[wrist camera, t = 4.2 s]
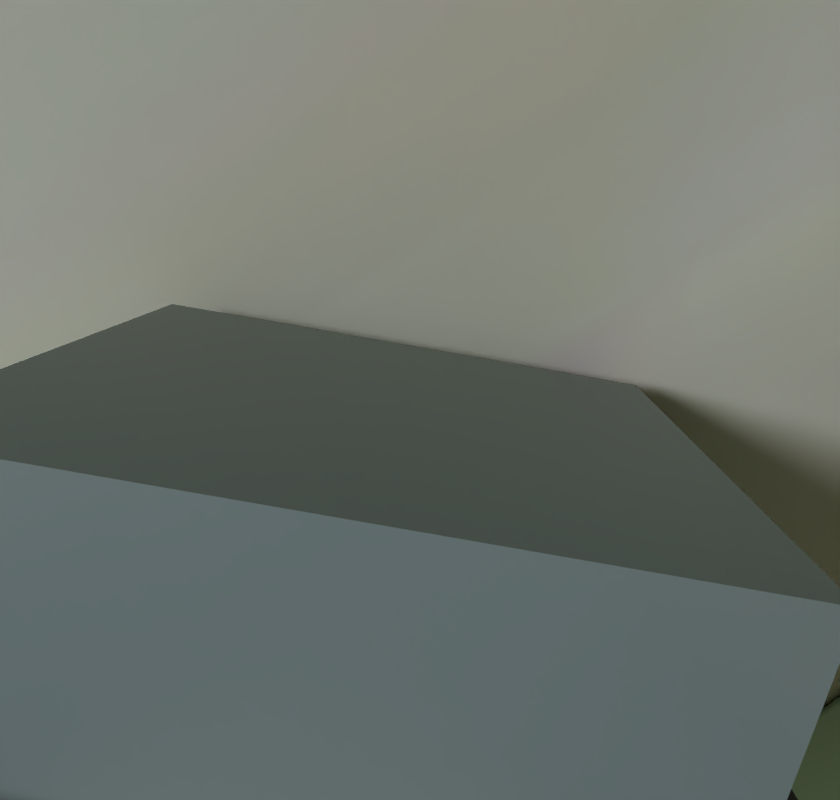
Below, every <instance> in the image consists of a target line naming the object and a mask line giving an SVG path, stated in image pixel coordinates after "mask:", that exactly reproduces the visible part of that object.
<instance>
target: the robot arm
mask: <svg viewBox="0 0 840 800" xmlns="http://www.w3.org/2000/svg"><path fill="white" fill-rule="evenodd" d="M787 800H798V799H797V797H796V796H795V794H794V792H793V790H792V789H791V791H790V793H789V796H788V799H787Z"/></svg>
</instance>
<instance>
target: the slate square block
mask: <svg viewBox="0 0 840 800" xmlns="http://www.w3.org/2000/svg"><path fill="white" fill-rule="evenodd" d="M839 664H840V587H839V586H838V585H837V584H836V583H835V582H834V581H833V580H832V579H831V578H830V577H829V576H828V575H827V574H826V573H825V572H824V571H823V570H822V569H821V568H820V567H819V566H818V565H817V564H816V563H815V562H814V561H813V560H812V559H811V558H810V557H809V556H808V555H807V554H806V553H805V552H804V551H803V550H802V549H801V548H800V547H799V546H798V545H797V544H796V543H795V542H794V541H793V540H792V539H791V538H790V537H789V536H788V535H787V534H786V533H785V532H784V531H783V530H782V529H781V528H779V527H778V526H777V525H776V524H775V523H774V522H773V521H772V520H771V519H770V518H769V517H768V516H767V515H766V514H765V513H764V512H763V511H762V510H761V509H760V508H759V507H758V506H757V505H756V504H755V503H754V502H753V501H752V500H751V499H750V498H749V497H748V496H747V495H746V494H745V493H744V492H743V491H742V490H741V489H740V488H739V487H738V486H737V485H736V484H735V483H734V482H733V481H732V480H731V479H730V478H729V477H728V476H727V475H726V474H725V473H724V472H723V471H722V470H721V469H720V468H719V467H718V466H717V465H716V464H715V463H714V462H713V461H712V460H711V459H710V458H709V457H708V456H707V455H706V454H705V453H704V452H703V451H702V450H701V449H700V448H699V447H698V446H697V445H696V444H695V443H694V442H693V441H692V440H691V439H690V438H689V437H688V436H687V435H686V434H684V433H683V432H682V431H681V430H680V429H679V428H678V427H677V426H676V425H675V424H674V423H673V422H672V421H671V420H670V419H669V418H668V417H667V416H666V415H665V414H664V413H663V412H662V411H661V410H660V409H659V408H658V407H657V406H656V405H655V404H654V403H653V402H652V401H651V400H650V399H649V398H648V397H647V396H646V395H645V394H644V393H643V392H642V391H641V390H640V389H639V388H638V387H637V386H635V385H630V384H624V383H618V382H613V381H607V380H601V379H596V378H590V377H584V376H578V375H573V374H567V373H561V372H556V371H550V370H544V369H539V368H533V367H527V366H522V365H516V364H510V363H504V362H499V361H493V360H487V359H482V358H476V357H470V356H465V355H459V354H453V353H448V352H442V351H436V350H430V349H425V348H419V347H413V346H408V345H402V344H396V343H391V342H385V341H379V340H374V339H368V338H362V337H356V336H351V335H345V334H339V333H334V332H328V331H322V330H317V329H311V328H305V327H300V326H294V325H288V324H282V323H277V322H271V321H265V320H260V319H254V318H248V317H243V316H237V315H231V314H226V313H220V312H214V311H208V310H203V309H197V308H191V307H186V306H180V305H174V304H171V305H169V306H166V307H164V308H161V309H158V310H156V311H153V312H150V313H148V314H145V315H142V316H140V317H137V318H134V319H132V320H129V321H127V322H124V323H121V324H119V325H116V326H113V327H111V328H108V329H105V330H103V331H100V332H97V333H95V334H92V335H90V336H87V337H84V338H82V339H79V340H76V341H74V342H71V343H68V344H66V345H63V346H61V347H58V348H55V349H53V350H50V351H47V352H45V353H42V354H39V355H37V356H34V357H31V358H29V359H26V360H24V361H21V362H18V363H16V364H13V365H10V366H8V367H5V368H2V369H0V800H787V799H788V796H789V793H790V791H791V788H792V786H793V783H794V781H795V778H796V775H797V773H798V770H799V768H800V765H801V763H802V760H803V757H804V755H805V752H806V750H807V747H808V744H809V742H810V739H811V737H812V734H813V732H814V729H815V726H816V724H817V721H818V719H819V716H820V714H821V711H822V708H823V706H824V703H825V701H826V698H827V695H828V693H829V690H830V688H831V685H832V683H833V680H834V677H835V675H836V672H837V670H838V667H839Z"/></svg>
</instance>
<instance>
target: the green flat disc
mask: <svg viewBox="0 0 840 800" xmlns="http://www.w3.org/2000/svg"><path fill="white" fill-rule="evenodd" d="M791 789H792V790H793V792H794V794H795V796H796V797H797V799H798V800H840V696H839V697H838V698H836V699H835V700H834V701H832V702H831V703H830V704H828V705H827V706H826V707H824V708H823V709H822V711H821V714H820V716H819V719H818V721H817V724H816V726H815V729H814V732H813V734H812V737H811V739H810V742H809V744H808V747H807V750H806V752H805V755H804V757H803V760H802V763H801V765H800V768H799V770H798V773H797V775H796V778H795V781H794V783H793V786H792V788H791Z"/></svg>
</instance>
